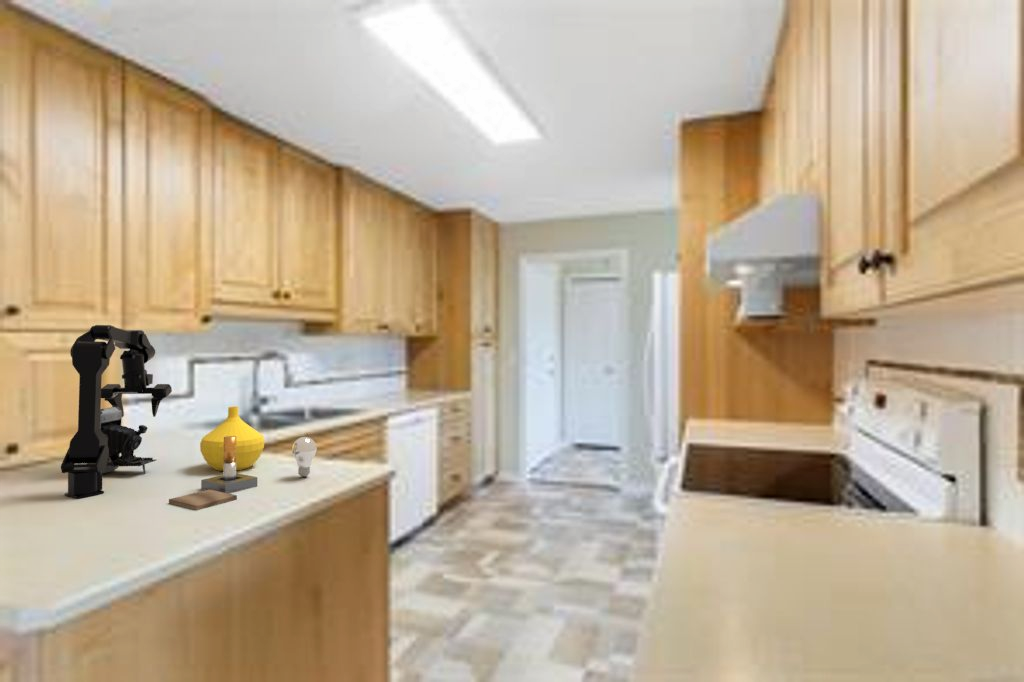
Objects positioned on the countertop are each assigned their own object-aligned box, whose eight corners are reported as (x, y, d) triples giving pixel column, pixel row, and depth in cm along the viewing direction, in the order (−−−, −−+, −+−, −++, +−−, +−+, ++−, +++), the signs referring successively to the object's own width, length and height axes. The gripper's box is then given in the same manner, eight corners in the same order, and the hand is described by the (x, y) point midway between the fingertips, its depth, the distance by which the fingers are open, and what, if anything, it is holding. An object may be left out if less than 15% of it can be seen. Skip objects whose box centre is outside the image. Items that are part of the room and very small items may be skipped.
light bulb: (320, 474, 182) (320, 435, 182) (310, 480, 175) (310, 439, 175) (298, 474, 183) (298, 434, 182) (287, 479, 176) (287, 438, 175)
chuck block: (225, 494, 159) (225, 484, 159) (201, 489, 164) (201, 479, 164) (257, 486, 168) (257, 477, 168) (233, 481, 173) (233, 472, 172)
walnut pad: (196, 510, 145) (196, 505, 145) (168, 503, 150) (168, 499, 150) (236, 499, 155) (236, 495, 155) (209, 493, 160) (209, 489, 160)
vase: (193, 475, 178) (194, 411, 178) (207, 462, 196) (207, 404, 195) (260, 473, 183) (260, 410, 183) (267, 460, 201) (268, 403, 200)
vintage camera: (137, 480, 174) (141, 411, 174) (84, 476, 174) (88, 408, 174) (157, 472, 184) (161, 407, 184) (107, 469, 184) (111, 404, 184)
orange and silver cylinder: (228, 489, 164) (228, 438, 163) (220, 488, 165) (221, 437, 165) (238, 487, 166) (239, 436, 166) (230, 485, 168) (231, 435, 168)
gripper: (175, 361, 196) (179, 406, 200) (111, 361, 192) (116, 407, 196) (163, 372, 185) (167, 419, 189) (95, 372, 181) (101, 420, 185)
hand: (138, 416), depth 190 cm, fingers open, 9 cm apart
